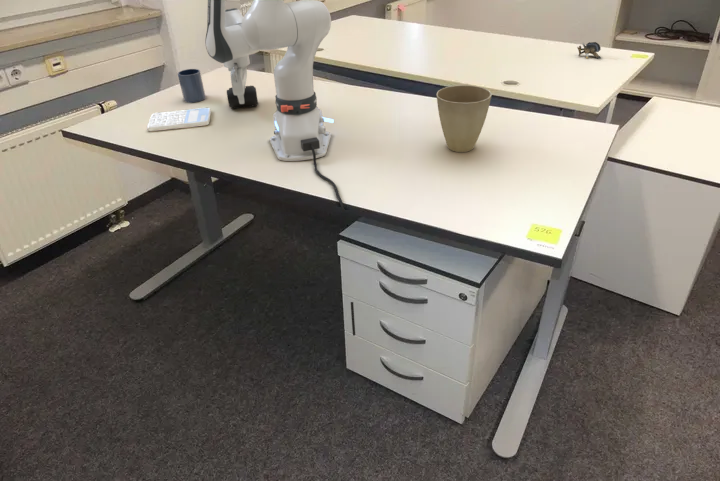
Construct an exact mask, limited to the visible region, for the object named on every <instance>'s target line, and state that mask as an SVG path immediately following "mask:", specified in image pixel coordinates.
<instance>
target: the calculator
mask: <svg viewBox="0 0 720 481" xmlns="http://www.w3.org/2000/svg"><path fill="white" fill-rule="evenodd" d="M211 109H212V108H210V107H198V108H191V109H189V108H188V109H178V110H169V111H160V112H153V113H152V114H151V115H150V117H149V120H148V122H147V125H146V128H147V131H148V132H158V131H166V130H178V129H186V128H195V127H204V126H205V127H206V126H208V125H209V124H210V120H211V114H212V110H211Z"/></svg>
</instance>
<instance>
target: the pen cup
mask: <svg viewBox="0 0 720 481" xmlns="http://www.w3.org/2000/svg"><path fill="white" fill-rule="evenodd" d="M201 73H202V72H201V70H200V69H198V68H186V69H182V70H180V71H178V72H177V77H178V81H179V86H180V90H181V94H182V97H183V102H185V103H190V104H192V103H193V104H194V103H199V102H202V101H204V100H206V99H207V98H206V91H205V87H204V81H203V77H202V74H201Z"/></svg>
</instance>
